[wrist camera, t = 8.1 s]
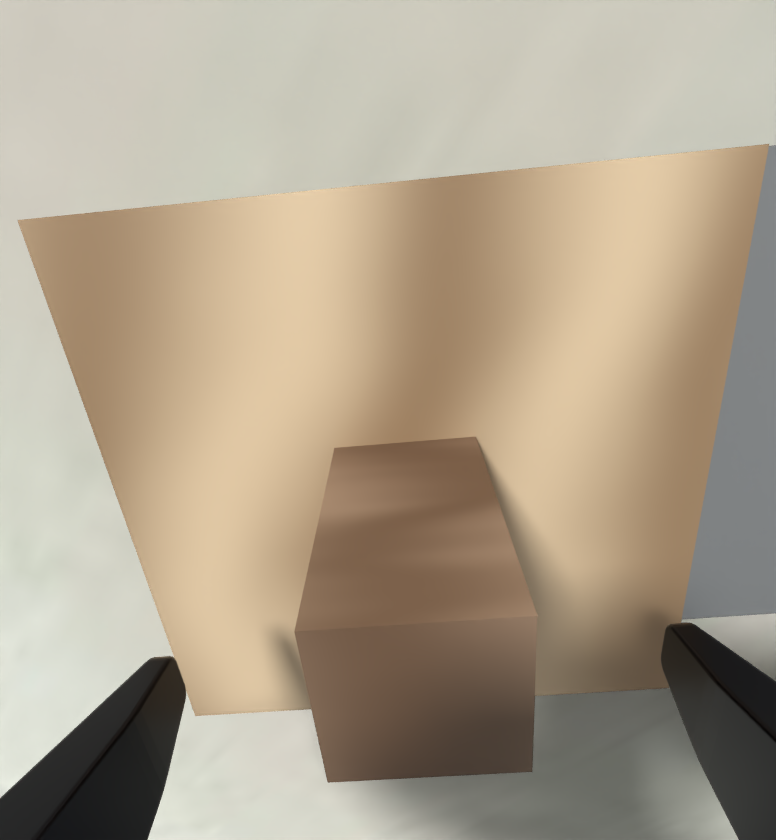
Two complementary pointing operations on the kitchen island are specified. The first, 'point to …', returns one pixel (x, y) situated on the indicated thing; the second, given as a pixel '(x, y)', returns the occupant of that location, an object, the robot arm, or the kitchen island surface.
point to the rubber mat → (744, 448)
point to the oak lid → (413, 436)
